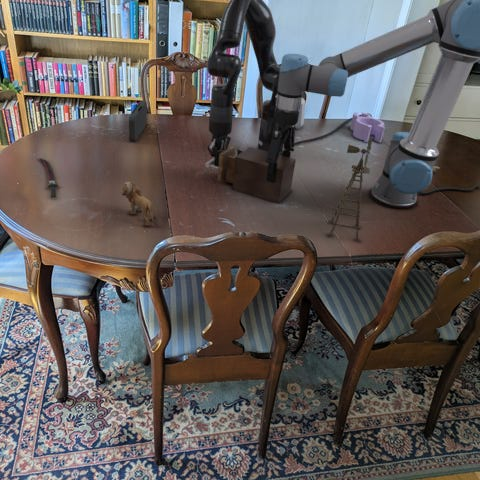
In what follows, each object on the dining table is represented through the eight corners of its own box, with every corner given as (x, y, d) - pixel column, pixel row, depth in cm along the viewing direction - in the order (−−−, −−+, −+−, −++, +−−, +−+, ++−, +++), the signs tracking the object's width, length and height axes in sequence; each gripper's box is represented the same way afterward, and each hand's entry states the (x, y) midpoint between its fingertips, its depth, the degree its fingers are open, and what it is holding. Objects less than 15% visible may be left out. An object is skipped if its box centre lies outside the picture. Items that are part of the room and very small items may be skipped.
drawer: (203, 176, 160) (204, 150, 155) (216, 167, 168) (218, 141, 163) (259, 193, 153) (262, 166, 148) (270, 183, 161) (274, 156, 156)
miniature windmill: (357, 241, 135) (384, 143, 119) (328, 236, 136) (351, 138, 120) (357, 226, 143) (382, 132, 127) (330, 221, 144) (351, 127, 128)
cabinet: (232, 189, 157) (235, 156, 150) (246, 177, 165) (249, 146, 159) (278, 203, 151) (283, 170, 145) (290, 190, 159) (295, 159, 153)
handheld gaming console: (140, 122, 202) (140, 99, 196) (147, 123, 202) (146, 100, 196) (128, 141, 182) (127, 116, 177) (135, 142, 182) (134, 117, 177)
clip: (343, 126, 223) (346, 112, 219) (367, 127, 225) (371, 113, 221) (360, 142, 206) (364, 127, 202) (386, 142, 209) (390, 127, 205)
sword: (61, 197, 141) (61, 193, 140) (50, 198, 139) (50, 194, 139) (49, 160, 164) (48, 156, 163) (39, 160, 163) (39, 157, 162)
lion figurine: (118, 210, 138) (116, 182, 133) (132, 204, 141) (131, 177, 137) (151, 229, 130) (150, 201, 126) (165, 223, 134) (165, 195, 129)
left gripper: (220, 110, 159) (217, 158, 168) (200, 120, 148) (198, 170, 158) (239, 115, 156) (235, 163, 166) (221, 125, 146) (218, 176, 155)
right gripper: (289, 97, 151) (280, 160, 163) (260, 115, 133) (252, 184, 145) (311, 102, 149) (300, 166, 160) (284, 121, 131) (274, 191, 142)
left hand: (217, 166), depth 162 cm, fingers closed
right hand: (277, 175), depth 153 cm, fingers closed on cabinet, 11 cm apart
